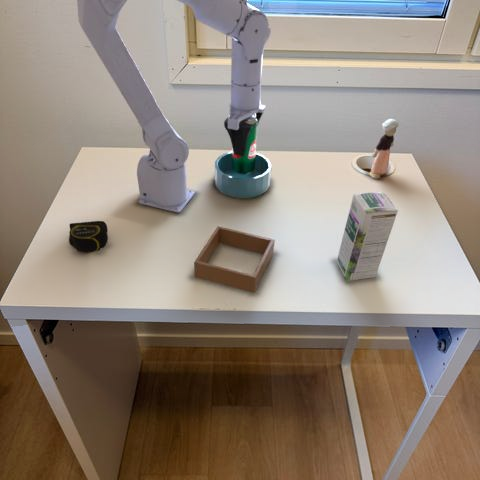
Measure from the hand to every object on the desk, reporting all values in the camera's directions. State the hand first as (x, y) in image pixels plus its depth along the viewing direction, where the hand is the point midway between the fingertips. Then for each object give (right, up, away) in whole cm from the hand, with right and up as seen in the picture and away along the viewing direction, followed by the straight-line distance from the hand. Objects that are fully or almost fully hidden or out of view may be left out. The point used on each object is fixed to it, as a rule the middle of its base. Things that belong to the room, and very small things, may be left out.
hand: (243, 148), depth 98 cm
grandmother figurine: (+31, -2, +11) cm, 33 cm away
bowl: (0, -6, +6) cm, 8 cm away
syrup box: (+20, -27, -13) cm, 36 cm away
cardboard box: (-2, -26, -13) cm, 29 cm away
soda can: (0, -3, +4) cm, 5 cm away
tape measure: (-29, -22, -10) cm, 38 cm away
